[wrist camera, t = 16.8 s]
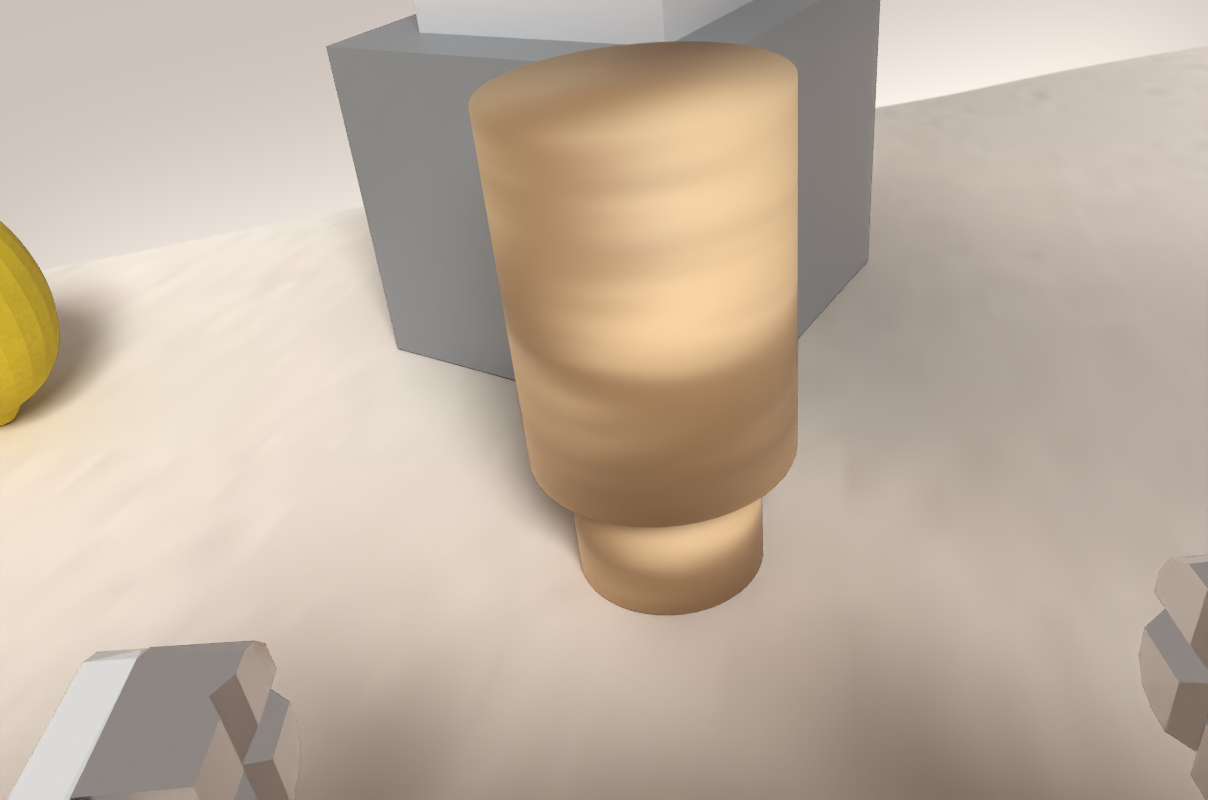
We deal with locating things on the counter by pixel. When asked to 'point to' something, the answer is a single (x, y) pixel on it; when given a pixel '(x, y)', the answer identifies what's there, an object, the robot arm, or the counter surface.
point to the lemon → (23, 326)
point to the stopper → (651, 301)
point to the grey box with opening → (548, 29)
